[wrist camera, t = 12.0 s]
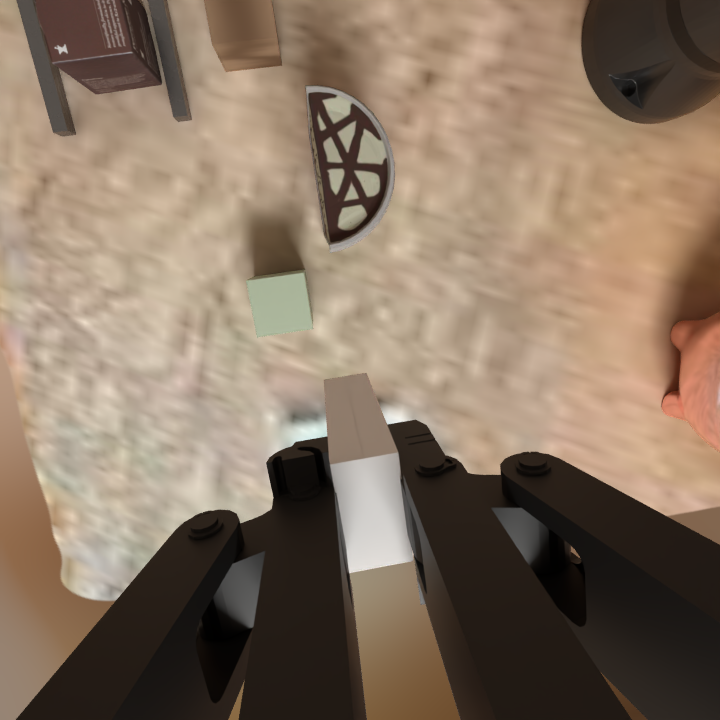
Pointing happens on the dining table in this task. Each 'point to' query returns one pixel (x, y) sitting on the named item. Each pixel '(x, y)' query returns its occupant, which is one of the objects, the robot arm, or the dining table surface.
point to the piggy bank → (698, 378)
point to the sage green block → (280, 303)
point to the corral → (53, 82)
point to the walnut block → (243, 33)
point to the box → (100, 43)
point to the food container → (348, 165)
